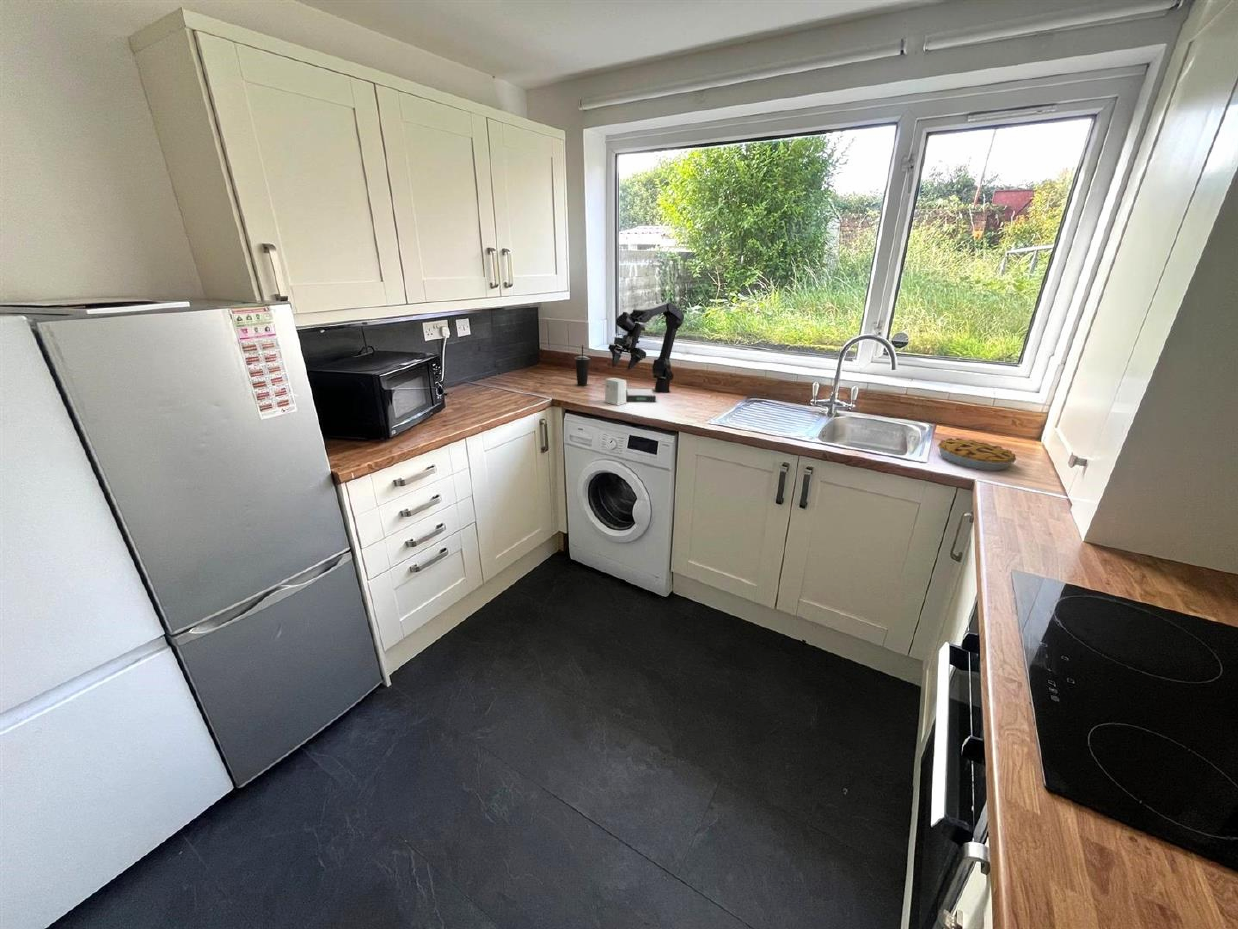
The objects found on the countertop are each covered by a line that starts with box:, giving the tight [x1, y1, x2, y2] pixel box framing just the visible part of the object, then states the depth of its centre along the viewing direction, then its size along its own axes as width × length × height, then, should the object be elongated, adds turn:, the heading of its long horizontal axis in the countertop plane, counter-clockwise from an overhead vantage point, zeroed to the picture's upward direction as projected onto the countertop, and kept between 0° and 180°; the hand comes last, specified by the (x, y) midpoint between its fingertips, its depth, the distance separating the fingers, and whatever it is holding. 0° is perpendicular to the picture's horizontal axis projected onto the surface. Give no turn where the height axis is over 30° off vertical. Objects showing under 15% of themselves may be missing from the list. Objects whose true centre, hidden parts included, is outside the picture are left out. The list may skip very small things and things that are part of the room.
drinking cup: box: [574, 344, 591, 387], centre depth 251 cm, size 8×8×20 cm
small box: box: [604, 377, 627, 406], centre depth 221 cm, size 8×6×10 cm
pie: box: [937, 437, 1017, 472], centre depth 166 cm, size 22×22×5 cm
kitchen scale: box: [626, 388, 657, 403], centre depth 232 cm, size 13×13×3 cm
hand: (620, 368), depth 222 cm, fingers open, 9 cm apart
